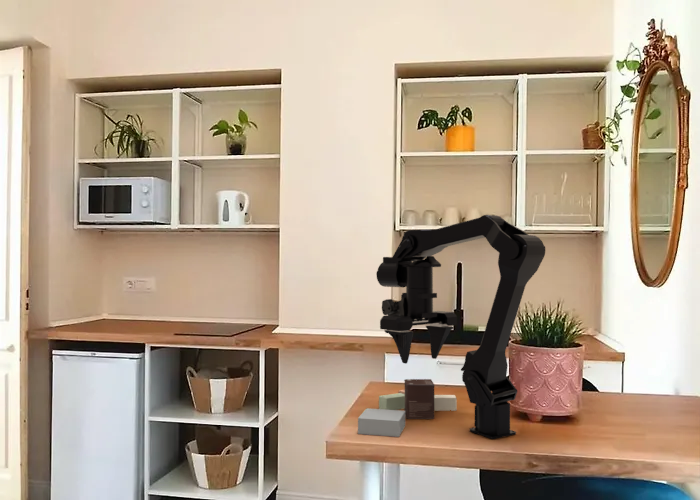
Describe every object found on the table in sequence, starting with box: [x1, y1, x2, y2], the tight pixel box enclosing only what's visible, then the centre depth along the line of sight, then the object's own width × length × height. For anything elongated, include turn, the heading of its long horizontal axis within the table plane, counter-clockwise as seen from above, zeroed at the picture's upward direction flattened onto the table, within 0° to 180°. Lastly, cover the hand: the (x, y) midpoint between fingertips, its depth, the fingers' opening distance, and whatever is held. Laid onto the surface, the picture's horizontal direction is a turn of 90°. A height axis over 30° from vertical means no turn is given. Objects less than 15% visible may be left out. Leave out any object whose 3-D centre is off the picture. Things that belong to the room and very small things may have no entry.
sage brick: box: [378, 393, 405, 410], centre depth 142 cm, size 6×3×3 cm, turn 121°
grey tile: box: [357, 407, 406, 438], centre depth 124 cm, size 8×8×3 cm
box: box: [403, 378, 435, 420], centre depth 135 cm, size 6×6×7 cm
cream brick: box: [434, 394, 458, 412], centre depth 141 cm, size 6×3×3 cm, turn 90°
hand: (419, 360), depth 136 cm, fingers open, 9 cm apart
